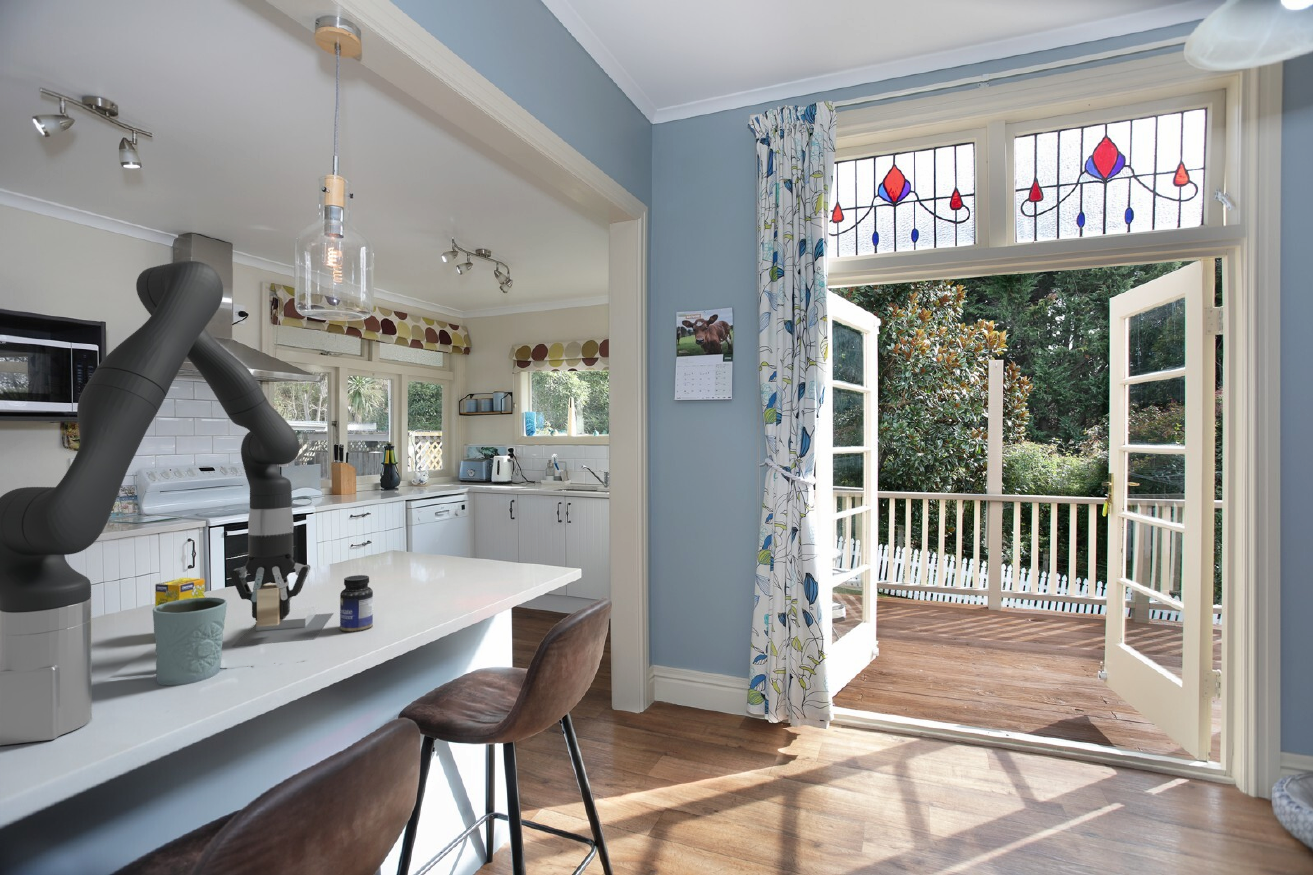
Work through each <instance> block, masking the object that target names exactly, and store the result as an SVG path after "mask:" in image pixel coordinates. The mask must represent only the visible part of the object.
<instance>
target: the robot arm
mask: <svg viewBox="0 0 1313 875" xmlns="http://www.w3.org/2000/svg"><path fill="white" fill-rule="evenodd" d="M135 284H136V285H135V288H136V293H137V297H138V298H139V301H140V302H141V304H142V305H143V307H144V308H145V310H146V311H147V312H148V314H149V315H150V317H149V318H148V319H147V320H146V322H145V323H143V324H142V325H141V327H139V328H138V329H136V331H134V332H133V333H132V334H130V335H129V336H128V337H127V338H126V339H125V340H123V341H122V342H121V343H119V345H117V346H116V347H115V348H114V349H113V350H111V351H110V353H108V354H107V355H106V356H105V357H103V359H102V361H100V363H98V365H97V367H95V370H94V371H93V373H92V375H91V376H90V378H89V380H88V381H87V383H86V385H85V386H84V388H83V390H82V391H81V394H80V396H79V398H78V402H77V407H76V410H77V414H76V415H77V426H78V431H79V444H78V450H77V452H76V454H75V456H74V459H73V461H72V462H71V464H70V466H69V467H68V469H67V470H66V473H65V474H64V476H63V477H62V479H61V480H60V481H59V483H58V484H57V485H56V486H30V487H29V486H27V487H18V488H15V489H12V490H10V491H8V492H6V493H4V494H3V495H1V496H0V746H5V745H16V744H23V743H33V742H40V741H41V742H42V741H49V740H56V739H57V738H58V737H59V736H63V735H64V734H67V733H70V732H73V731H75V730H77V729H79V728H82V727H83V726H86V725H87V724H88V723H89V722H90V721H91V720H92V717H93V716H92V713H93V712H92V711H93V708H92V707H93V706H92V705H93V704H92V703H93V702H92V700H93V698H92V697H93V691H92V690H93V689H92V688H93V686H92V682H93V681H92V673H93V672H92V670H93V669H92V583H91V581H90V579H89V578H88V577H87V576H86V575H84V574H81V573H80V572H78V571H77V570H75V569H74V568H73V567H71V565H70V564H69V562H68V561H67V560H66V556H67V555H69V556H70V555H74V554H78V553H81V552H83V551H85V550H86V549H88V548H89V547H90V546H92V545H93V544H94V543H95V542H96V541H97V539H98V538H99V537H100V536H101V534H102V533H103V531H104V529H105V528H106V526H107V523H108V522H109V521H108V520H109V519H110V516H111V514H112V511H113V508H114V506H115V504H116V501H117V499H118V495H119V493H120V490H121V488H122V485H123V483H124V480H125V477H126V474H127V472H128V470H129V468H130V465H131V463H132V462H133V460H134V457H135V456H136V454H137V451H138V449H139V447H140V445H141V443H142V441H143V439H144V437H145V435H146V433H147V431H148V429H149V427H150V426H151V423H152V422H153V421H154V419H155V417H156V415H157V414H158V412H159V410H160V409H161V407H162V405H163V403H164V401H165V399H166V397H167V395H168V393H169V390H170V388H171V386H172V385H173V381H174V380H175V378H176V377H177V375H178V373H179V372H180V369H181V367H182V366H183V365H184V362H185V360H186V359H188V361H190V363H192V365H193V367H195V368H196V370H197V371H198V372H199V374H200V375H201V376H202V377H203V379H204V380H205V382H206V383H207V384H208V386H209V388H210V390H212V392H213V394H214V396H215V397H216V398H217V401H218V402H219V404H220V406H222V408H223V410H224V412H225V413H226V415H227V417H228V418H229V420H230V421H231V422H232V423H233V424H235V425H237V426H240V427H242V428H244V429H246V430H247V431H248V432H247V433H246V434H245V436H244V437H243V439H242V442H241V446H240V455H241V456H240V457H241V460H242V461H241V462H242V466H243V469H244V473H245V475H246V476H245V477H246V480H247V483H248V485H249V513H248V521H247V524H248V525H247V526H248V529H247V530H248V531H247V532H248V534H247V538H248V539H247V540H248V541H247V542H248V545H247V546H248V547H247V549H248V550H247V551H248V552H247V553H248V554H247V555H248V558H247V562H246V563H245V565H244V566H242V567H236V568H234V569H233V570H231V571H230V572H229V576H230V577H231V580H232V582H233V584H234V587H235V588H236V590H237V593H238V595H239V597H240V599H241V600H248V601H250V602H251V617H252V619H255V622H257V590H258V589H261V588H262V587H263V586H265V585H266V584H276V585H277V588H279V594H280V597H281V600H280V619H285V618H286V616H287V615H288V614H289V612H290V609H291V606H290V605H291V600H290V598H291V597H293V596H294V597H297V596H298V594H300V593H301V591H302V589H303V586H304V584H305V582H306V579H307V577H308V574H309V573H310V570H311V565H309V564H305V565H304V564H302V563H299V562H297V561H296V560H297V559H295V557H294V528H295V524H294V514H293V508H292V506H293V505H292V503H293V502H292V501H293V500H292V498H293V497H292V494H293V492H292V491H293V490H292V483H291V480H290V479H289V478H287V477H285V476H282V475H281V474H280V471H279V466H281V465H287V464H290V463H292V462H293V461H294V460H296V458H297V457H298V455H299V454H300V448H301V447H300V441H299V438H298V436H297V433H296V431H295V430H294V429H293V427H292V426H291V425H290V424H289V423H288V421H286V419H285V418H284V417H283V416H282V415H281V414H280V413H279V412H278V411H277V409H275V408H274V407H273V406H272V405H271V404H270V402H269V400H268V399H267V397H266V395H265V392H263V390H262V388H261V386H260V385H259V382H258V381H257V379H256V378H255V376H254V375H253V373H252V372H251V371H250V370H249V369H248V367H247V366H245V365H244V363H242V362H241V361H240V360H238V359H237V358H236V356H234V355H233V354H232V353H230V352H229V351H228V350H227V349H225V348H224V347H223V346H222V345H221V344H220V343H218V342H217V341H216V339H214V337H212V335H211V334H210V333H209V332H208V330H207V329H206V327H207V325H208V324H210V321H211V320H212V319H213V317H214V316H215V314H216V313H217V312H218V310H219V309H220V307H221V304H222V302H223V299H224V298H223V297H224V287H223V282H222V279H221V277H220V275H219V274H218V272H217V271H216V269H214V268H213V267H212V266H210V265H209V264H206V263H204V262H201V261H197V260H182V261H176V262H171V263H165V264H160V265H157V266H153V267H147V268H146V269H144V270H142V272H141V273H139V275H138V277H137V279H136V283H135ZM278 465H279V466H278ZM293 570H295V572H294V573H295V575H296V576H297V578H296V579H295V582H294V585H293V587H292V589H290V585H289V584H290V583H289V578H288V577H289V575H290V574H291V572H292V571H293ZM247 573H248V574H250V576H251V577H252V578H253V579H254V583H253V588H252V590H253V591H251V588H250V586H249V584H248V582H247V579H246V577H248V576H247ZM294 597H293V598H294Z"/></svg>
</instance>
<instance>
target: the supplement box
mask: <svg viewBox="0 0 1313 875" xmlns="http://www.w3.org/2000/svg"><path fill="white" fill-rule="evenodd" d="M205 583H206V579H205V578H191V577H180V578H176V579H173V580H168V581H164V582H157V583H155V585H154V588H155V592H154V593H155V595H154V598H155V604H154V606H155V607H156V606H158V605H161V604H164V603H168V602H172V601H177V600H184V599H191V598H204V597H205V596H206V595H205V593H206V589H205V587H206V586H205ZM155 607H154V608H155Z"/></svg>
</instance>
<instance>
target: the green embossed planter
mask: <svg viewBox="0 0 1313 875" xmlns="http://www.w3.org/2000/svg"><path fill="white" fill-rule="evenodd" d="M227 607H228V601H227V599H225V598H221V597H211V596H209V597H208V596H207V597H204V598H191V599H184V600H177V601H172V602H168V603H164V604H161V605H158V606H156V607H154V608H153V609H152V616H153V618H152V620H153V635H154V641H155V649H154V650H155V653H156V661H155V668H156V681H157V684H159V685H163V686H182V685H188V684H194V683H198V682H201V681H204V680H207V679H210V678H213V677H214V676H216V675H218V674H219V673H220V670H221V665H222V657H223V656H222V655H223V652H222V648H223V639H224V633H223V631H224V629H225V620H226V615H227V614H226V613H227Z"/></svg>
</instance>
